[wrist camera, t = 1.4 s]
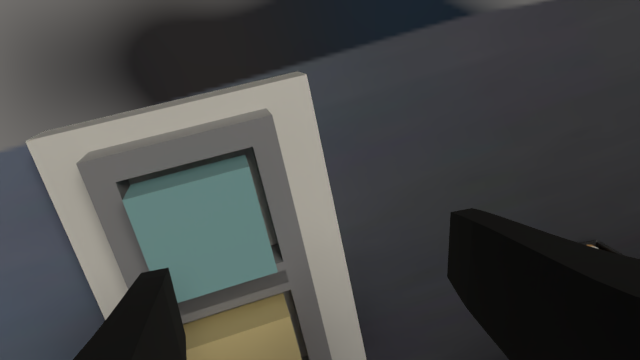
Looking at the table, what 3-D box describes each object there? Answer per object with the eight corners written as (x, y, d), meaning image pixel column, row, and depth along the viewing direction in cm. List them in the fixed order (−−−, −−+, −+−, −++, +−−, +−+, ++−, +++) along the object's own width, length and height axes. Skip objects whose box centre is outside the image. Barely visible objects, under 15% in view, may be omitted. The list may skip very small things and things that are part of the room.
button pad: (372, 415, 27) (396, 471, 24) (194, 482, 26) (192, 552, 22) (297, 71, 20) (316, 77, 17) (43, 131, 18) (4, 152, 15)
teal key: (271, 251, 19) (277, 272, 17) (167, 282, 18) (163, 307, 16) (245, 154, 17) (249, 166, 16) (130, 184, 17) (121, 200, 15)
